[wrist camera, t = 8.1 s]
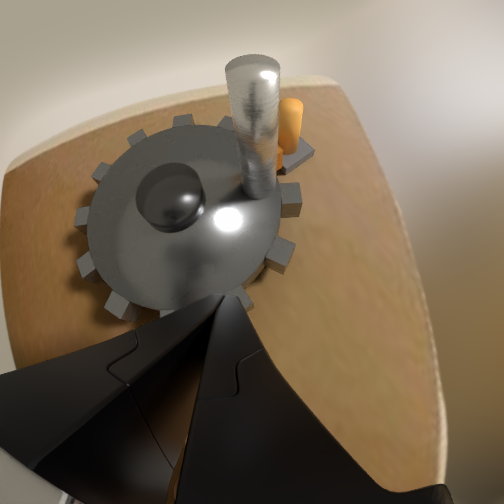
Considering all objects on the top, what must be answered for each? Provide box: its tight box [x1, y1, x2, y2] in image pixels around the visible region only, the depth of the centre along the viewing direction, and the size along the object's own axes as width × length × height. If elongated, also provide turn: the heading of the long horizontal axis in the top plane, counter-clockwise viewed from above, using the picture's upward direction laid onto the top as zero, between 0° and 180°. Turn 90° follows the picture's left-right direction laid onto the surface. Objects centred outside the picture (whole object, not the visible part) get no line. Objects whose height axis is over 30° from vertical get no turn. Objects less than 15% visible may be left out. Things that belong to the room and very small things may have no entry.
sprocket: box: [74, 54, 302, 322], centre depth 14 cm, size 15×15×11 cm
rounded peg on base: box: [278, 98, 315, 175], centre depth 19 cm, size 3×3×5 cm
